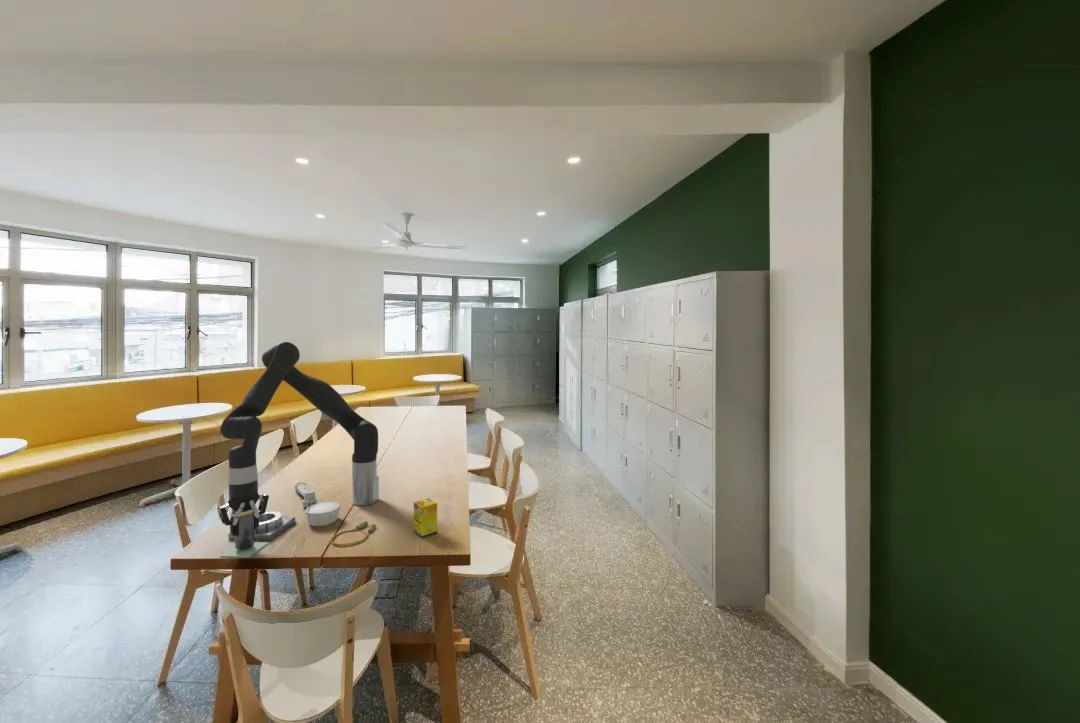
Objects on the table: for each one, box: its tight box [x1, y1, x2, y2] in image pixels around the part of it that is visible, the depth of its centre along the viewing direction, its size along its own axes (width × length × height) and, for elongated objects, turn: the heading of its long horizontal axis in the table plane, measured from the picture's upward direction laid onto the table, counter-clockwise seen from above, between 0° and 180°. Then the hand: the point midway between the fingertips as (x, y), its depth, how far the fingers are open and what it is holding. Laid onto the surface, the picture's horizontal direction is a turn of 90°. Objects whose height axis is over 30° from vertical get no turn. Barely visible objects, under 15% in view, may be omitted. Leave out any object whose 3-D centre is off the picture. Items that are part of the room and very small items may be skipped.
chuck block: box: [227, 510, 296, 541], centre depth 148 cm, size 14×14×4 cm
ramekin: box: [305, 501, 341, 527], centre depth 156 cm, size 11×11×5 cm
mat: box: [220, 541, 269, 559], centre depth 135 cm, size 9×9×1 cm
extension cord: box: [331, 521, 377, 547], centre depth 145 cm, size 12×16×2 cm
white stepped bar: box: [294, 481, 319, 509], centre depth 176 cm, size 5×7×25 cm
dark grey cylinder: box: [234, 508, 255, 550], centre depth 134 cm, size 5×5×12 cm
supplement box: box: [413, 497, 438, 539], centre depth 148 cm, size 6×6×11 cm
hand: (244, 532), depth 134 cm, fingers closed on dark grey cylinder, 5 cm apart
